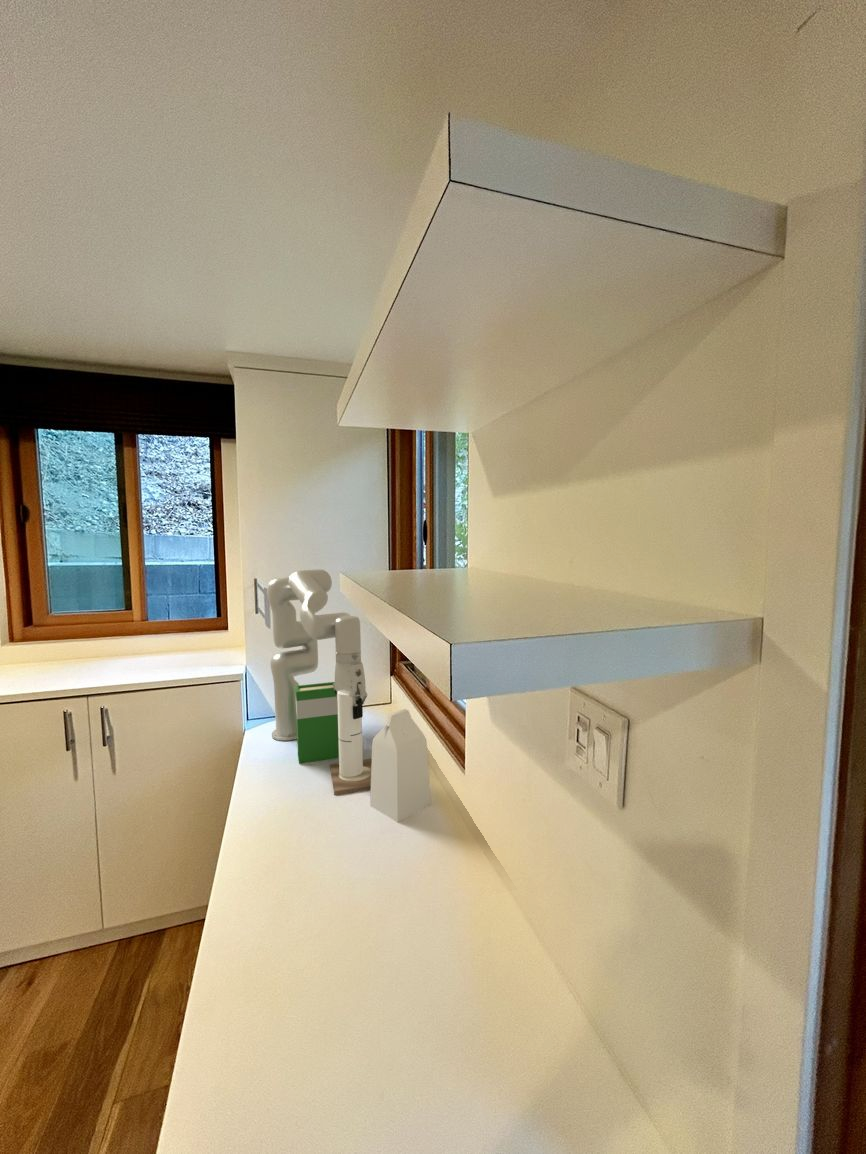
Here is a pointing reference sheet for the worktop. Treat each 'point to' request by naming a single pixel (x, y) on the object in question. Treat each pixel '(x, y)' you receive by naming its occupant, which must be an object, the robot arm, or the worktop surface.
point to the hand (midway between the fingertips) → (349, 714)
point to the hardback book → (316, 722)
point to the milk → (399, 768)
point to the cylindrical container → (349, 737)
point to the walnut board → (351, 779)
